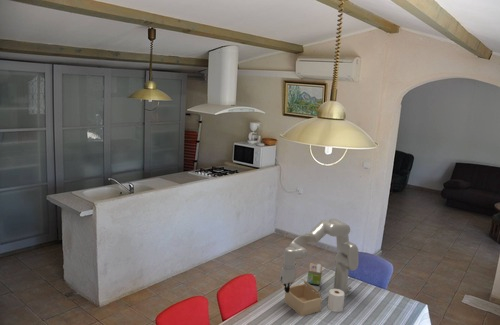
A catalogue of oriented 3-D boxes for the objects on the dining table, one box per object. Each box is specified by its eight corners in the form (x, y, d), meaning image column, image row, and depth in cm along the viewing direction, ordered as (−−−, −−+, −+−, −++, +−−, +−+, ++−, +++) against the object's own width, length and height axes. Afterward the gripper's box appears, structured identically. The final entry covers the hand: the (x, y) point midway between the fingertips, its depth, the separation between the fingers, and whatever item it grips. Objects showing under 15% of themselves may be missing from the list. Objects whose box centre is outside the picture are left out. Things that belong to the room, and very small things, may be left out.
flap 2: (305, 284, 285) (305, 284, 285) (320, 296, 270) (321, 296, 270) (302, 279, 282) (302, 278, 282) (317, 290, 267) (317, 290, 267)
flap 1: (280, 285, 274) (280, 285, 274) (295, 297, 259) (295, 298, 259) (286, 288, 277) (286, 289, 277) (301, 301, 262) (300, 301, 262)
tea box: (319, 291, 298) (321, 272, 295) (306, 288, 300) (308, 270, 297) (320, 281, 312) (322, 264, 309) (307, 279, 314) (309, 262, 311)
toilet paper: (342, 313, 269) (343, 297, 267) (326, 310, 272) (328, 293, 270) (343, 306, 279) (345, 290, 276) (328, 302, 282) (330, 287, 280)
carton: (302, 296, 288) (303, 283, 286) (320, 311, 270) (322, 298, 268) (284, 301, 281) (285, 288, 279) (301, 316, 263) (302, 303, 261)
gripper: (295, 261, 269) (292, 286, 273) (276, 265, 262) (274, 291, 266) (301, 266, 263) (299, 292, 266) (282, 270, 256) (280, 296, 259)
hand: (286, 291), depth 266 cm, fingers closed
